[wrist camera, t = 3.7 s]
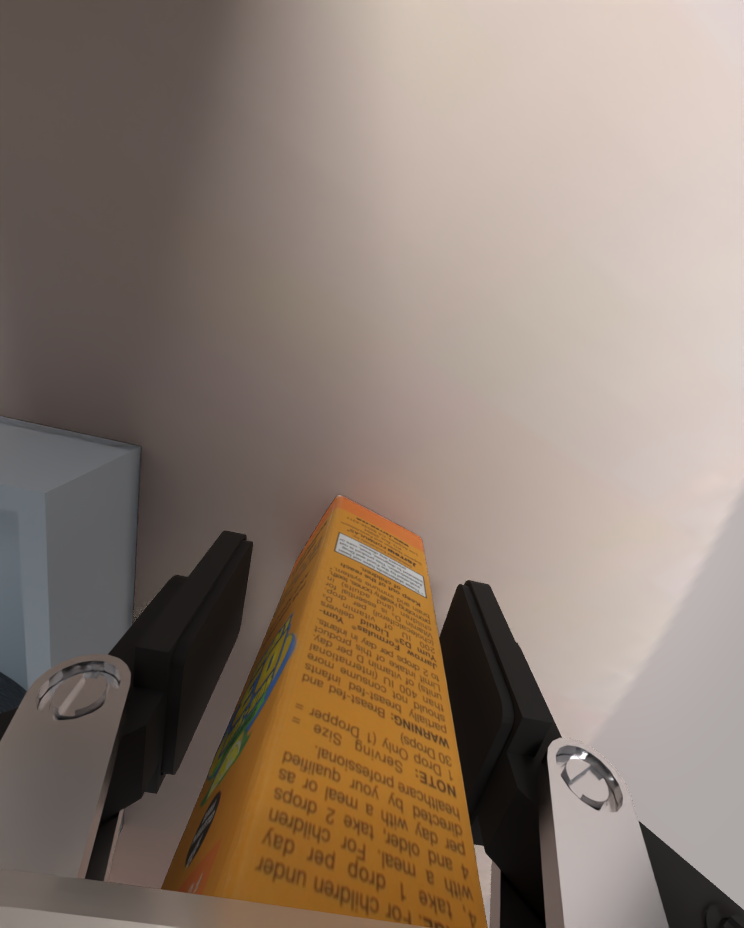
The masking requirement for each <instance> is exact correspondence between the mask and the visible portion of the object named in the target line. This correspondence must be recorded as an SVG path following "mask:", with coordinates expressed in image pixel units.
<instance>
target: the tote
mask: <svg viewBox="0 0 744 928" xmlns="http://www.w3.org/2000/svg"><path fill="white" fill-rule="evenodd" d="M140 456H141V446H137V445H132V444H127V443H123V442H118V441H113V440H109V439H104V438H100V437H95V436H90V435H86V434H81V433H76V432H72V431H67V430H62V429H58V428H53V427H48V426H44V425H39V424H35V423H30V422H25V421H21V420H16V419H11V418H7V417H2V416H0V672H2V673H3V674H5V675H6V676H8V677H9V678H11V679H13V680H14V681H15V682H16V683H18V684H19V685H20V686H22V687H23V688H24V689H25V690H26V691H28V690H29V688H30V687H31V686H32V684H33V683H34V682H35V680H36V679H38V678H39V677H40V676H41V675H43V674H44V673H45V672H46V671H47V670H49V669H51V668H52V667H54V666H56V665H58V664H60V663H61V662H63V661H66V660H69V659H72V658H75V657H78V656H83V655H90V654H108V653H109V652H110V651H111V650H112V649H113V647H114V646H115V645H116V644H117V643H118V641H119V640H120V639H121V638H122V637H123V635H124V634H125V633H126V632H127V630H128V629H129V628H130V627H131V626H132V623H133V602H134V581H135V560H136V540H137V519H138V498H139V477H140ZM122 827H123V815H122V820H121V824H120V829H119V833H120V831H121V829H122ZM119 833H118V835H119Z"/></svg>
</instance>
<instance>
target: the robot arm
mask: <svg viewBox="0 0 744 928" xmlns="http://www.w3.org/2000/svg"><path fill="white" fill-rule="evenodd" d="M246 540H247V536H246V535H245V534H240V533H235V532H230V531H223V532H222V533H221V535H220V536H219V537H218V539H217V540H216V541H215V543H214V544H213V545H212V547H211V548H210V549H209V550H208V552H207V553H206V554H205V556H204V557H203V558H202V560H201V561H200V562H199V564H198V565H197V566H196V568H195V569H194V570H193V571H192V573H191V574H190V575H189V577H185V576H180V575H175V576H173V577H172V578H171V579H170V580H169V581H168V582H167V583H166V585H165V586H164V587H163V588H162V589H161V591H160V592H159V593H158V594H157V595H156V597H155V598H154V599H153V600H152V602H151V603H150V604H149V605H148V606H147V608H146V609H145V610H144V611H143V612H142V614H141V615H140V616H139V617H138V618H137V620H136V621H135V622H134V623H133V624H132V626H131V627H130V628H129V629H128V630H127V632H126V633H125V634H124V635H123V637H122V638H121V639H120V640H119V641H118V643H117V644H116V645H115V646H114V647H113V649H112V650H111V651H110V652H109V653H108V654H90V655H83V656H78V657H75V658H72V659H69V660H66V661H63V662H61V663H60V664H58V665H56V666H54V667H52V668H51V669H49V670H47V671H46V672H45V673H44V674H43V675H41V676H40V677H39V678H38V679H36V680H35V682H34V683H33V684H32V686H31V687H30V688H29V690H28V691H27V692H26V694H25V696H24V698H23V700H22V702H21V704H20V705H19V707H16V708H14V709H11V710H9V711H6V712H3V713H1V714H0V928H429V927H422V926H416V925H409V924H402V923H395V922H388V921H381V920H374V919H367V918H361V917H354V916H347V915H340V914H333V913H326V912H319V911H312V910H305V909H298V908H291V907H284V906H277V905H270V904H263V903H256V902H249V901H242V900H234V899H227V898H220V897H213V896H205V895H198V894H191V893H184V892H176V891H169V890H162V889H155V888H147V887H140V886H133V885H125V884H118V883H111V882H108V879H109V874H110V870H111V865H112V861H113V856H114V852H115V847H116V842H117V838H118V833H119V829H120V824H121V820H122V815H123V811H124V808H126V807H127V806H129V805H131V804H132V803H134V802H136V801H137V800H139V799H141V798H142V796H143V794H144V792H150V793H156V794H157V792H158V790H159V788H160V785H161V783H162V781H163V779H164V777H165V775H166V774H172V775H174V774H175V773H176V772H177V770H178V768H179V766H180V764H181V762H182V760H183V757H184V755H185V753H186V751H187V748H188V746H189V744H190V742H191V740H192V737H193V735H194V733H195V731H196V728H197V726H198V724H199V722H200V720H201V717H202V715H203V713H204V711H205V708H206V706H207V704H208V702H209V700H210V697H211V695H212V693H213V691H214V688H215V686H216V684H217V682H218V679H219V677H220V675H221V673H222V671H223V668H224V666H225V664H226V662H227V659H228V657H229V655H230V653H231V651H232V648H233V646H234V644H235V642H236V639H237V637H238V634H239V630H240V626H241V620H242V614H243V607H244V601H245V594H246V588H247V581H248V574H249V568H250V561H251V555H252V548H253V542H251V541H246ZM439 640H440V646H441V652H442V658H443V664H444V670H445V676H446V682H447V688H448V694H449V701H450V706H451V712H452V718H453V723H454V730H455V736H456V742H457V748H458V753H459V759H460V765H461V771H462V777H463V783H464V789H465V795H466V801H467V807H468V814H469V820H470V826H471V832H472V838H473V844H476V845H482V846H484V849H485V853H486V854H487V855H488V856H489V857H490V858H491V860H492V866H491V899H490V928H744V910H743V909H742V908H741V907H740V906H738V905H737V904H736V903H735V902H734V901H733V900H731V899H730V898H729V897H728V896H727V895H726V894H724V893H723V892H722V891H721V890H720V889H718V888H717V887H716V886H715V885H714V884H713V883H711V882H710V881H709V880H708V879H707V878H705V877H704V876H703V875H702V874H701V873H700V872H698V871H697V870H696V869H695V868H693V866H691V865H690V864H689V863H688V862H687V861H685V860H684V859H683V858H682V857H680V855H678V854H677V853H676V852H675V851H674V850H673V849H671V848H670V847H669V846H668V845H666V844H665V843H664V842H663V841H662V840H661V839H660V838H658V837H657V836H656V835H655V834H654V833H652V832H651V831H650V830H649V829H648V828H646V827H645V826H644V825H643V824H642V823H641V822H639V821H638V818H637V815H636V811H635V808H634V804H633V801H632V797H631V795H630V792H629V790H628V788H627V786H626V783H625V782H624V780H623V779H622V777H621V776H620V774H619V773H618V771H617V770H616V769H615V768H614V767H613V766H612V765H611V764H610V762H609V761H608V760H607V759H606V758H605V757H603V756H602V755H601V754H599V753H598V752H597V751H596V750H595V749H593V748H592V747H590V746H588V745H586V744H585V743H583V742H581V741H578V740H574V739H571V738H562V737H561V735H560V733H559V730H558V728H557V726H556V724H555V722H554V720H553V717H552V715H551V713H550V711H549V709H548V707H547V704H546V702H545V700H544V698H543V696H542V694H541V691H540V689H539V687H538V685H537V683H536V681H535V678H534V676H533V674H532V672H531V670H530V668H529V665H528V663H527V661H526V659H525V657H524V655H523V652H522V650H521V648H520V647H519V645H518V643H516V642H515V640H514V638H513V635H512V633H511V631H510V629H509V627H508V624H507V622H506V620H505V618H504V616H503V613H502V611H501V609H500V607H499V605H498V602H497V600H496V598H495V596H494V594H493V591H492V589H491V587H490V586H489V585H488V584H484V583H479V582H474V581H470V580H468V581H466V582H465V584H464V585H462V584H459V585H458V586H457V589H456V592H455V594H454V597H453V600H452V603H451V606H450V609H449V611H448V614H447V617H446V620H445V623H444V626H443V629H442V631H441V634H440V637H439Z"/></svg>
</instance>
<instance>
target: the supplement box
mask: <svg viewBox="0 0 744 928" xmlns="http://www.w3.org/2000/svg"><path fill="white" fill-rule="evenodd" d="M161 889H162V890H169V891H176V892H184V893H191V894H198V895H205V896H213V897H220V898H227V899H234V900H242V901H249V902H256V903H263V904H270V905H277V906H284V907H291V908H298V909H305V910H312V911H319V912H326V913H333V914H340V915H347V916H354V917H361V918H367V919H374V920H381V921H388V922H395V923H402V924H409V925H416V926H422V927H429V928H487V921H486V915H485V909H484V904H483V898H482V893H481V887H480V882H479V875H478V869H477V862H476V855H475V849H474V844H473V838H472V832H471V826H470V820H469V814H468V807H467V801H466V795H465V789H464V783H463V777H462V771H461V765H460V759H459V753H458V748H457V742H456V736H455V730H454V723H453V718H452V712H451V706H450V701H449V694H448V688H447V682H446V676H445V670H444V664H443V658H442V652H441V646H440V640H439V635H438V629H437V623H436V617H435V611H434V606H433V600H432V593H431V588H430V582H429V576H428V570H427V564H426V559H425V553H424V548H423V542H422V539H421V537H419V536H417V535H416V534H414V533H412V532H410V531H408V530H406V529H405V528H403V527H401V526H399V525H397V524H395V523H393V522H392V521H390V520H388V519H386V518H384V517H382V516H380V515H378V514H376V513H375V512H373V511H371V510H369V509H367V508H366V507H364V506H361V505H359V504H357V503H356V502H354V501H352V500H350V499H348V498H346V497H344V496H342V495H338V496H336V498H335V499H334V501H333V502H332V503H331V505H330V507H329V508H328V510H327V511H326V513H325V514H324V516H323V517H322V519H321V521H320V522H319V524H318V525H317V527H316V529H315V530H314V532H313V534H312V535H311V537H310V539H309V540H308V542H307V544H306V545H305V547H304V549H303V550H302V552H301V554H300V556H299V557H298V559H297V561H296V562H295V564H294V567H293V569H292V572H291V574H290V577H289V580H288V582H287V584H286V587H285V589H284V592H283V594H282V597H281V599H280V602H279V604H278V606H277V609H276V611H275V614H274V616H273V619H272V621H271V623H270V626H269V628H268V631H267V633H266V636H265V638H264V640H263V643H262V645H261V648H260V650H259V652H258V655H257V657H256V660H255V662H254V665H253V667H252V669H251V672H250V674H249V677H248V679H247V682H246V684H245V686H244V689H243V691H242V694H241V696H240V698H239V701H238V703H237V706H236V708H235V711H234V713H233V715H232V718H231V720H230V722H229V725H228V727H227V729H226V732H225V734H224V736H223V739H222V741H221V743H220V745H219V748H218V750H217V752H216V755H215V757H214V760H213V762H212V765H211V768H210V770H209V773H208V776H207V778H206V781H205V783H204V786H203V788H202V791H201V793H200V795H199V798H198V800H197V802H196V805H195V807H194V810H193V812H192V814H191V817H190V819H189V822H188V824H187V826H186V829H185V831H184V834H183V836H182V838H181V841H180V843H179V846H178V848H177V850H176V853H175V855H174V858H173V860H172V863H171V865H170V868H169V870H168V873H167V875H166V878H165V880H164V883H163V885H162V887H161Z"/></svg>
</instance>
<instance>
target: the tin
mask: <svg viewBox="0 0 744 928" xmlns="http://www.w3.org/2000/svg"><path fill="white" fill-rule="evenodd" d="M26 692H27V691H26V690H25V689H24V688H23V687H22V686H20V685H19V684H18V683H16V682H15V681H14V680H13V679H11V678H9V677H8V676H6V675H5V674H3V673H2V672H0V714H1V713H3V712H6V711H9V710H11V709H14V708H16V707H19V705H20V704H21V702H22V700H23V698H24V696H25V694H26Z"/></svg>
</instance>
